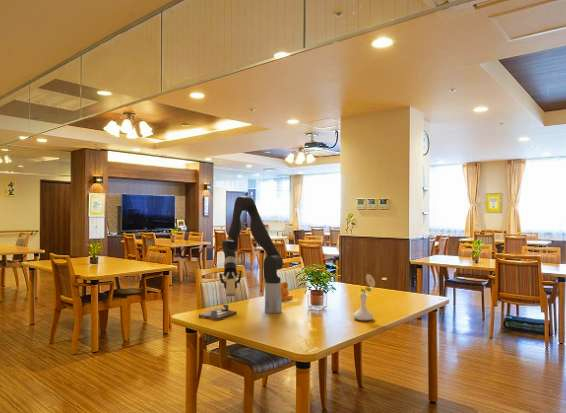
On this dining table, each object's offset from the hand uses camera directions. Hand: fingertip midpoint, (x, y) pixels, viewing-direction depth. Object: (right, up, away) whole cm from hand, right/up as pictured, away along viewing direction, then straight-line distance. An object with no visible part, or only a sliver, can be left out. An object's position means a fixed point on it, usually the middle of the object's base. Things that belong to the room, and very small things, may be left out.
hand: (230, 288), depth 248 cm
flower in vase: (+76, -14, -17) cm, 79 cm away
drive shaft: (-3, -12, -6) cm, 14 cm away
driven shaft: (-6, -12, -18) cm, 23 cm away
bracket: (+32, -15, +35) cm, 49 cm away
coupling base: (-6, -13, -12) cm, 19 cm away
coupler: (0, -5, +2) cm, 5 cm away
